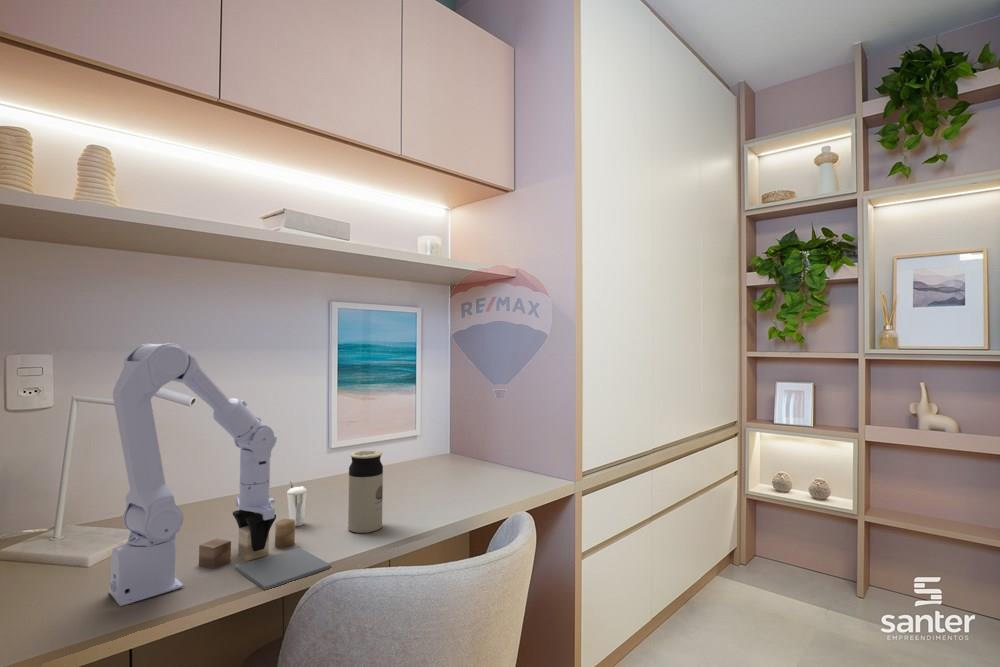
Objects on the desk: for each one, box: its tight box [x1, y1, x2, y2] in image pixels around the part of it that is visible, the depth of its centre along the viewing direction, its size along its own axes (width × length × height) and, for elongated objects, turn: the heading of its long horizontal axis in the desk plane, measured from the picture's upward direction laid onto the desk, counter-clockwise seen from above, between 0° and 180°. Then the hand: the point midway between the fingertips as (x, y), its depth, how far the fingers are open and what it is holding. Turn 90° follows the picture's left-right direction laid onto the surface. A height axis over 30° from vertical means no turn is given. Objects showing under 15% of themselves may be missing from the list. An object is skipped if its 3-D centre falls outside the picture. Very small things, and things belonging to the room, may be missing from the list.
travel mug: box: [347, 449, 384, 534], centre depth 125 cm, size 8×8×18 cm
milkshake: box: [286, 481, 308, 528], centre depth 128 cm, size 5×5×10 cm
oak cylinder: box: [274, 518, 296, 549], centre depth 114 cm, size 4×4×5 cm
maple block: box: [237, 526, 270, 561], centre depth 109 cm, size 4×4×6 cm
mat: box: [235, 547, 332, 591], centre depth 102 cm, size 13×13×1 cm
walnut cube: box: [198, 538, 232, 569], centre depth 105 cm, size 4×4×4 cm
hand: (253, 546), depth 109 cm, fingers closed on maple block, 4 cm apart
